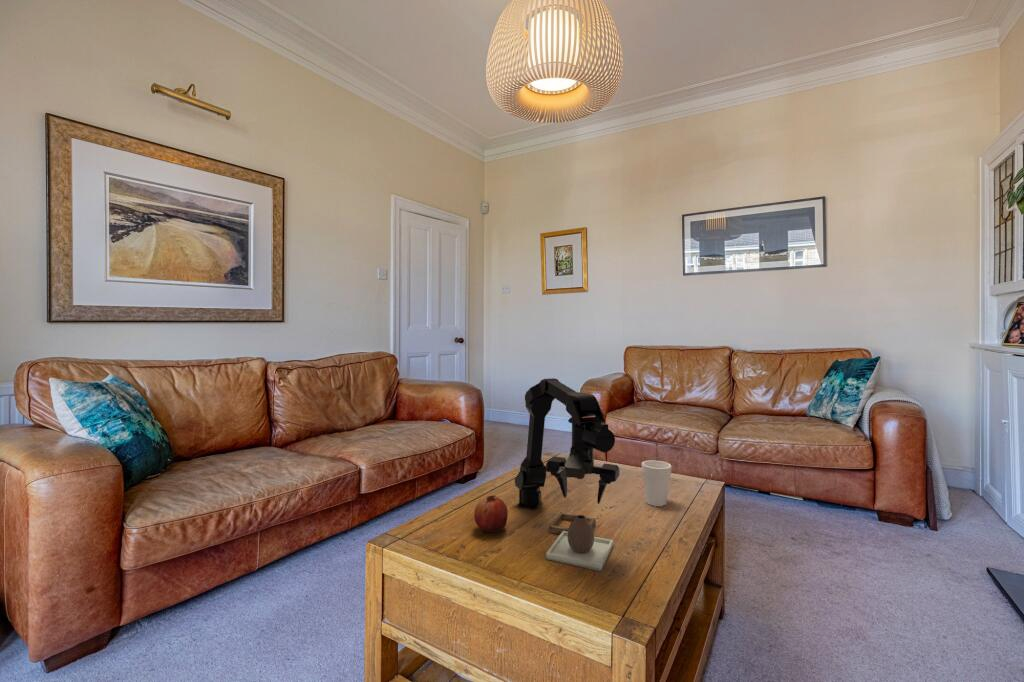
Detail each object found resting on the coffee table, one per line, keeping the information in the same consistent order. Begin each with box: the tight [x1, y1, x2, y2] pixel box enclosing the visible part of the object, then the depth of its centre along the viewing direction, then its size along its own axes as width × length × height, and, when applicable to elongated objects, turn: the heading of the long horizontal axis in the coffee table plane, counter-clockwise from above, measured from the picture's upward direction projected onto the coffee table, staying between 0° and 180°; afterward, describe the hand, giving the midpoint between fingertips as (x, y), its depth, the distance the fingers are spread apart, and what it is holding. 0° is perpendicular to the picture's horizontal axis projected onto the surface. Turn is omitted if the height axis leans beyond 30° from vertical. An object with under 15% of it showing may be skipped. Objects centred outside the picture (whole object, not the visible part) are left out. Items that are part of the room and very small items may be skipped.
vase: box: [567, 514, 595, 553], centre depth 117 cm, size 7×7×9 cm
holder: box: [548, 511, 597, 536], centre depth 132 cm, size 11×11×2 cm
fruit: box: [473, 495, 509, 533], centre depth 130 cm, size 11×10×10 cm
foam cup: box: [641, 459, 672, 507], centre depth 151 cm, size 10×9×13 cm
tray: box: [545, 531, 614, 572], centre depth 117 cm, size 14×14×2 cm
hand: (581, 500), depth 120 cm, fingers open, 9 cm apart
